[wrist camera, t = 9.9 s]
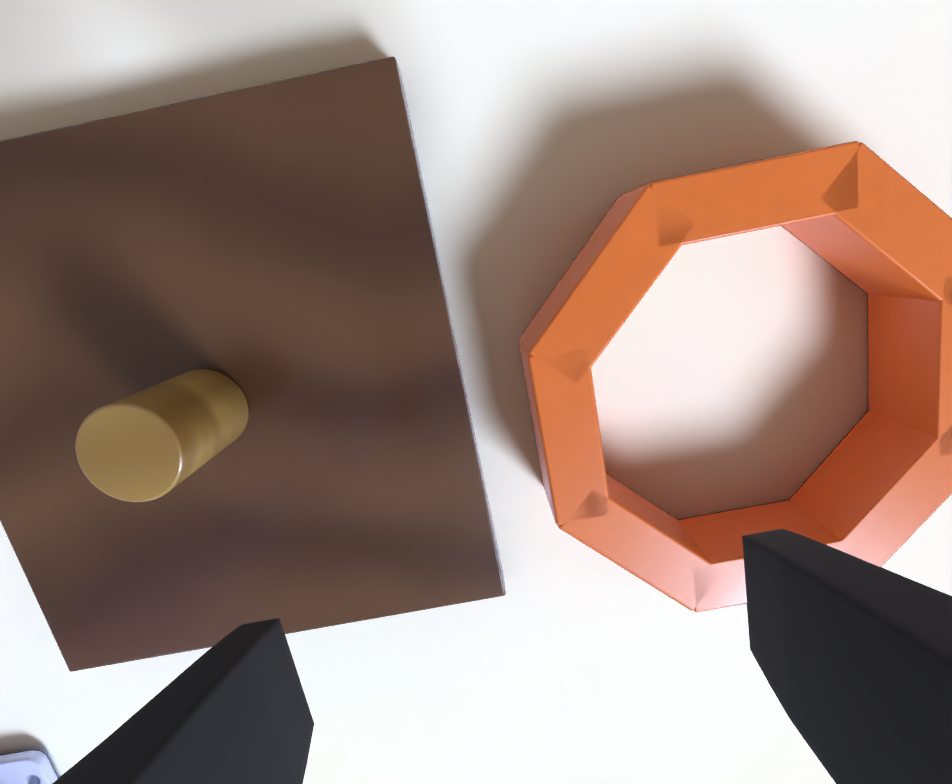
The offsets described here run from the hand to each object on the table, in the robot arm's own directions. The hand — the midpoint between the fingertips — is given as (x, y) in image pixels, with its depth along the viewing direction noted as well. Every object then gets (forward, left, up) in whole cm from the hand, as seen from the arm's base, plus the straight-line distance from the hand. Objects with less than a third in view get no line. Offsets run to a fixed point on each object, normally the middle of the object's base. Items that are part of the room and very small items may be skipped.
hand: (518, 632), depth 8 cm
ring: (0, -7, -9) cm, 12 cm away
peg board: (+3, +8, -9) cm, 13 cm away
